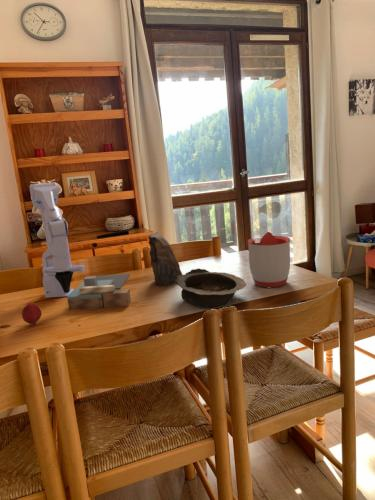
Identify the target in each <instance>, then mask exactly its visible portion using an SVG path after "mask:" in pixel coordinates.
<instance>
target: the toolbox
mask: <svg viewBox="0 0 375 500" xmlns="http://www.w3.org/2000/svg"><path fill="white" fill-rule="evenodd" d="M112 285H114V282H113V283H112ZM131 299H132V298H131V292H130V288H125V289H122V288H121V289H115V291H114V292H105V293H103V296H102V298H90V299H73V300H68V299H67V304H68V310H69V311H84V310H85V311H87V310H101V309H104V308H120V307H121V308H123V307H129V306H130V304H131V302H132V300H131Z"/></svg>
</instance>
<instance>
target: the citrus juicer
mask: <svg viewBox="0 0 375 500" xmlns="http://www.w3.org/2000/svg"><path fill="white" fill-rule="evenodd" d="M247 243H248V244H247V245H248V261H249V263H248V264H249V270H250V274H251V276H252V280H253V283H254V284H255V285H256V286H259V287H262V288H266V287H271V288H276V287H280V286H284V285H286V283H287V281H288V279H289V274H290V269H291V248H290V247H291V245H290V244H291V238H290V237H288V236H284V235H274V234H273V233H271V232H270V231H266V233H264V235H263V236H262V237H261V239H260V240H259V242H258V241H257V242H256V240H255V239H253V238H249V239H247Z"/></svg>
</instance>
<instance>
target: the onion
mask: <svg viewBox="0 0 375 500" xmlns="http://www.w3.org/2000/svg"><path fill="white" fill-rule="evenodd" d="M41 317H42V309H41V308H40V307H39V306H38V305H36V304H34V303H33V301H32V300H30V301H28V302H27V304H26V305H25V306H24V308H23V309H22V311H21V318H22V319H23V321H24V322H25V323H27V324H30V325H36V324H37V323H38V321H39V320H40V319H41Z"/></svg>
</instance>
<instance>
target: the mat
mask: <svg viewBox="0 0 375 500" xmlns="http://www.w3.org/2000/svg"><path fill="white" fill-rule="evenodd" d="M96 276H97V280H113V281H114V287H115V290H120V289H122V288H123V286H124V285H125V283H126V281H127V280H128V278H129V277H130V276H131V274H130V273H123V274H121V273H120V274H119V273H118V274H103V275H101V274H100V275H96Z"/></svg>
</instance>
